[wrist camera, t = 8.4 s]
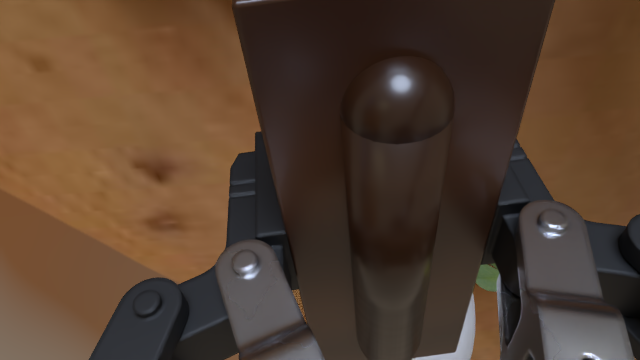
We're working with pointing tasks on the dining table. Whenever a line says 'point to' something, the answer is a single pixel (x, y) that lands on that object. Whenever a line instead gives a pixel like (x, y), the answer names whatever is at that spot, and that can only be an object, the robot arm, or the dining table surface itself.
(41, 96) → the dining table surface
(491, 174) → the scrub brush
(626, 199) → the dining table surface
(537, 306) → the robot arm
